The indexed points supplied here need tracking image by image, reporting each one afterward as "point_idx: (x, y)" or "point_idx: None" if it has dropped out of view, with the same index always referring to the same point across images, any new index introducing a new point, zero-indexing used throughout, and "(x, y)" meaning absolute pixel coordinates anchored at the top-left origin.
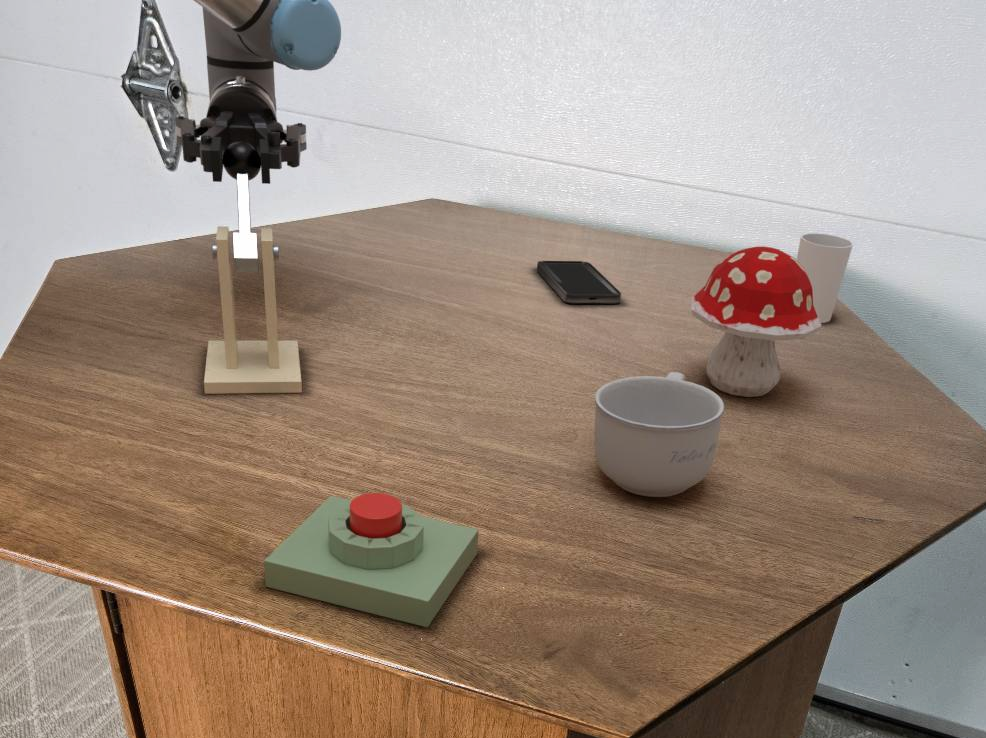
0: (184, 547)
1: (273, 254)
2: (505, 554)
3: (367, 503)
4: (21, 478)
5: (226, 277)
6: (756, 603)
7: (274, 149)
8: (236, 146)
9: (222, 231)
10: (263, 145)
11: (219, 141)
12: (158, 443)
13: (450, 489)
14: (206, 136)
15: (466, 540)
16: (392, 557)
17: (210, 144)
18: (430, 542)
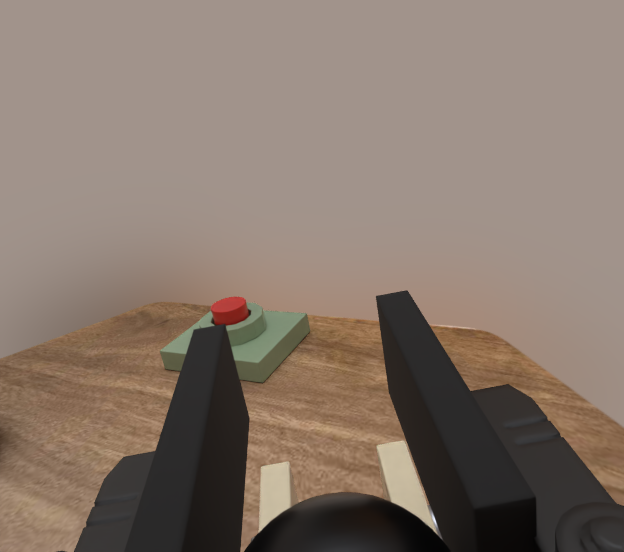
0: (370, 348)
1: None
2: (145, 372)
3: (233, 304)
4: (558, 390)
5: None
6: (20, 360)
7: (114, 541)
8: (352, 494)
9: (408, 500)
10: (190, 414)
11: (430, 401)
12: None
13: (146, 430)
14: (602, 516)
15: (173, 341)
16: None
17: (539, 504)
18: None
